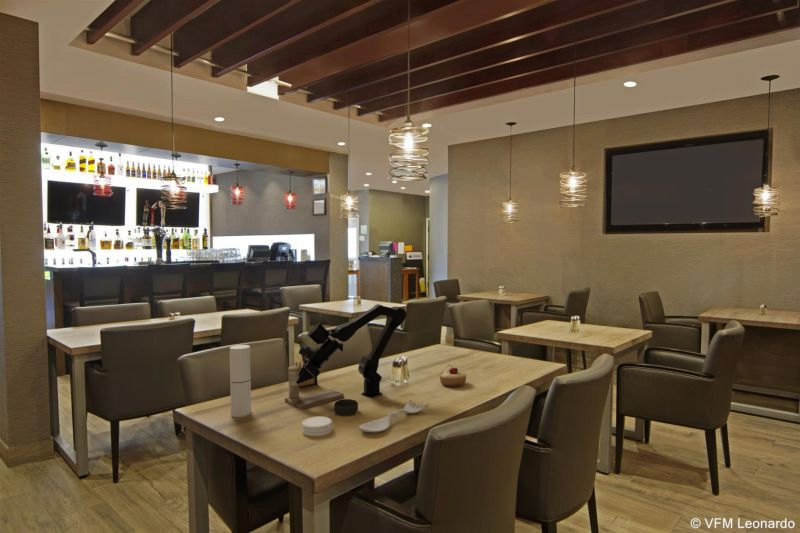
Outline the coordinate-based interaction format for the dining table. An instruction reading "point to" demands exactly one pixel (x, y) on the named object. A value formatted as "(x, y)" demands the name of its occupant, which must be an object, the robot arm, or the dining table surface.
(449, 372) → the pastry
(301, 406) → the walnut plank
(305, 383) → the ammunition clip
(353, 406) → the smart speaker
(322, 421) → the coaster
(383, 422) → the white spork
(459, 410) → the dining table surface
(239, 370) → the cylindrical container
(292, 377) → the beige round-topped column
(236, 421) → the dining table surface
